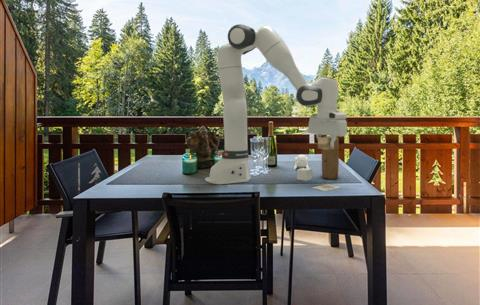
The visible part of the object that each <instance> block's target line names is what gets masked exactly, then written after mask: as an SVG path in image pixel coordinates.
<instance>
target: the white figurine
mask: <svg viewBox="0 0 480 305" xmlns="http://www.w3.org/2000/svg"><path fill="white" fill-rule="evenodd" d="M293 159H294V166H293V171H297V168H298V169H301V168H307V169H310V167H309V165H308V164H309V163H308V162H309V158H308V157H307V156H306V155H305V154H298V155H297V156H296V157H294V158H293Z"/></svg>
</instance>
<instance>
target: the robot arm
mask: <svg viewBox="0 0 480 305" xmlns="http://www.w3.org/2000/svg"><path fill="white" fill-rule="evenodd" d="M227 41H228V43H225V44H222V45H221V46H220V47H219V49H218V50H217V51H218V52H217V66H218V75H219V82H220V88H221V89H220V90H221V95H222V100H223V108H222V113H223V115H222V116H223V134H224V150H223V151H221V150H219V151H217V155H218V156H221V158H220V159H219V160H218V161H216V162H215V163H214V165H212V166H211V167H210V172H209V176H208V177H205V178H204V180H205V182H207V183H209V184H214V185H227V184H235V183H236V184H237V183H248V182H250V180H251V179H252V176H251V173H250V168H249V167H250V166H249V149H248V106H247V97H246V90H245V82H244V81H245V80H244V75H243V65H242V55H246V54H247V53H250V52H252V51H253V50H255V49H258V51H259V52H260V53H261V55H262V56H263V58H264V59H265V60H266V61H267V62H268V63H269V64H270V65H271V66H272V68H274V69H275V70H278V71H279V72H280V73H282V74H283V75H284V76H285V77H286V78H287V79H288V81H290V83H291V84H292V86H293V87H294V88H295V90H296V94H295V96H296V97H295V98H296V101H297V102H298V103H299V105H301V106H303V107H306V108H312V107H315V106H316V107H317V108H316V113H312V114H311V115H310V116H309V121H308V126H307V132H308V133H309V134H313V135H316V139H317V140H318V137H323V136H331V138H332V139H331V141H330V142H329V146H334V141H335V140H336V137H346V135H347V133H348V122H347V120H346V119H347V113H345V112H343V111H341V110H339V109H338V107H339V106H338V99H339V83H338V81H337V80H336V79H335V78H334V77H329V76H320V77H319V78H318V79H316V80H314V81H312V82H310V83H309V82H308V80H307V79H306V78H305V77H304V75H303V73H301V72H300V70H299V68H298V67H297V65H296V63H295V59H294V58H293V55H292V52H291V50H290V49H289V47H288V45H287V44H286V42H285V41H284V40H283V37H282V36H280V34H279V33H278V32H277V31H276V30H275V29H274V28H273V27H272V26H270V25H264V26H263V25H262V26H261V27H260V28H258V29H254V28H253V27H250V26H248V25H245V24H243V23H242V24H238V23H237V24H235V25H232V27H230V28H229V30H228V33H227Z"/></svg>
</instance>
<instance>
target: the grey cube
mask: <svg viewBox="0 0 480 305" xmlns="http://www.w3.org/2000/svg"><path fill="white" fill-rule="evenodd" d="M312 173H313V172H312V168H309V169H307V168H306V167H304V168H298V169H297V168H296V180H297V181H305V182H307V181H311V180H313V179H312V178H313V176H312V175H313V174H312Z"/></svg>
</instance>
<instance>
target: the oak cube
mask: <svg viewBox="0 0 480 305" xmlns="http://www.w3.org/2000/svg"><path fill="white" fill-rule="evenodd" d="M331 139H332V138H331V137H325V136H321V137H318V139H317V149H319V150H322V149H325V150H328V149H334V146H329V142H330V141H331Z"/></svg>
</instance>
